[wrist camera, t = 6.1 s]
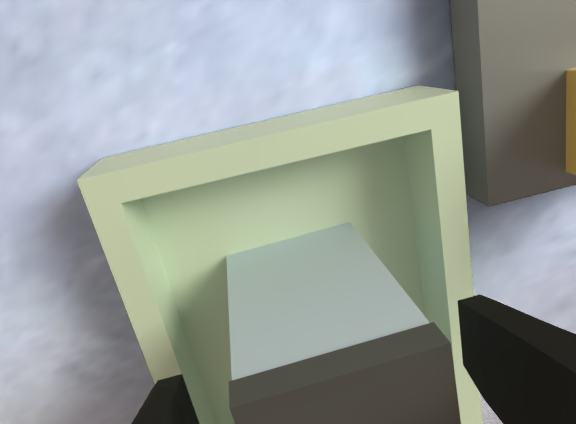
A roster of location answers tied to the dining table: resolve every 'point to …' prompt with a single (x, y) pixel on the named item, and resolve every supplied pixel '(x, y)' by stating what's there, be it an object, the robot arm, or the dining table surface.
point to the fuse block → (516, 95)
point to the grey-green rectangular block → (332, 338)
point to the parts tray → (284, 222)
